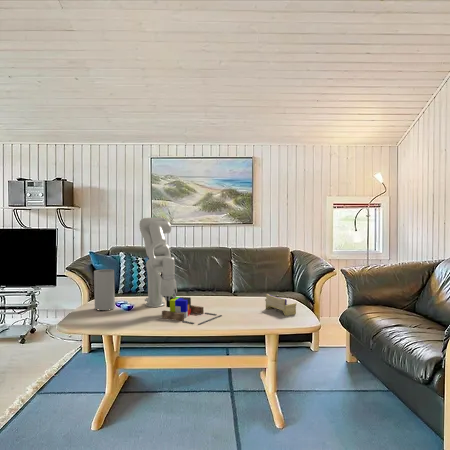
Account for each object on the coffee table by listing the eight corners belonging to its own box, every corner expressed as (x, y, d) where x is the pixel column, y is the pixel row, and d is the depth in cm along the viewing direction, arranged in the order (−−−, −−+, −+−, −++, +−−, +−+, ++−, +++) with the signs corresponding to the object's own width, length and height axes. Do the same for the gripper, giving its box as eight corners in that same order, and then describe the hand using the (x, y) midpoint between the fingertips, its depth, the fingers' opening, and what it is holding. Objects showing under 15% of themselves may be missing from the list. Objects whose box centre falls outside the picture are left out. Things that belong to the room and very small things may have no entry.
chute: (162, 317, 237) (161, 311, 237) (184, 310, 255) (184, 304, 255) (181, 321, 229) (181, 314, 229) (203, 313, 247) (203, 306, 246)
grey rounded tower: (113, 306, 269) (112, 268, 268) (116, 310, 258) (115, 271, 257) (93, 308, 263) (92, 270, 263) (96, 312, 252) (95, 272, 251)
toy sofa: (297, 314, 243) (296, 297, 243) (285, 316, 239) (285, 299, 238) (275, 307, 261) (275, 291, 261) (264, 309, 257) (264, 293, 256)
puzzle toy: (186, 317, 237) (185, 301, 237) (169, 317, 239) (169, 300, 239) (190, 313, 247) (190, 297, 246) (175, 313, 249) (175, 296, 249)
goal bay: (182, 322, 228) (182, 321, 228) (205, 313, 247) (205, 312, 247) (199, 325, 221) (199, 324, 221) (221, 315, 240) (221, 315, 240)
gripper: (155, 277, 248) (155, 306, 248) (174, 279, 240) (174, 309, 240) (163, 275, 254) (164, 304, 255) (182, 277, 246) (182, 307, 247)
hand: (169, 306), depth 248 cm, fingers closed
